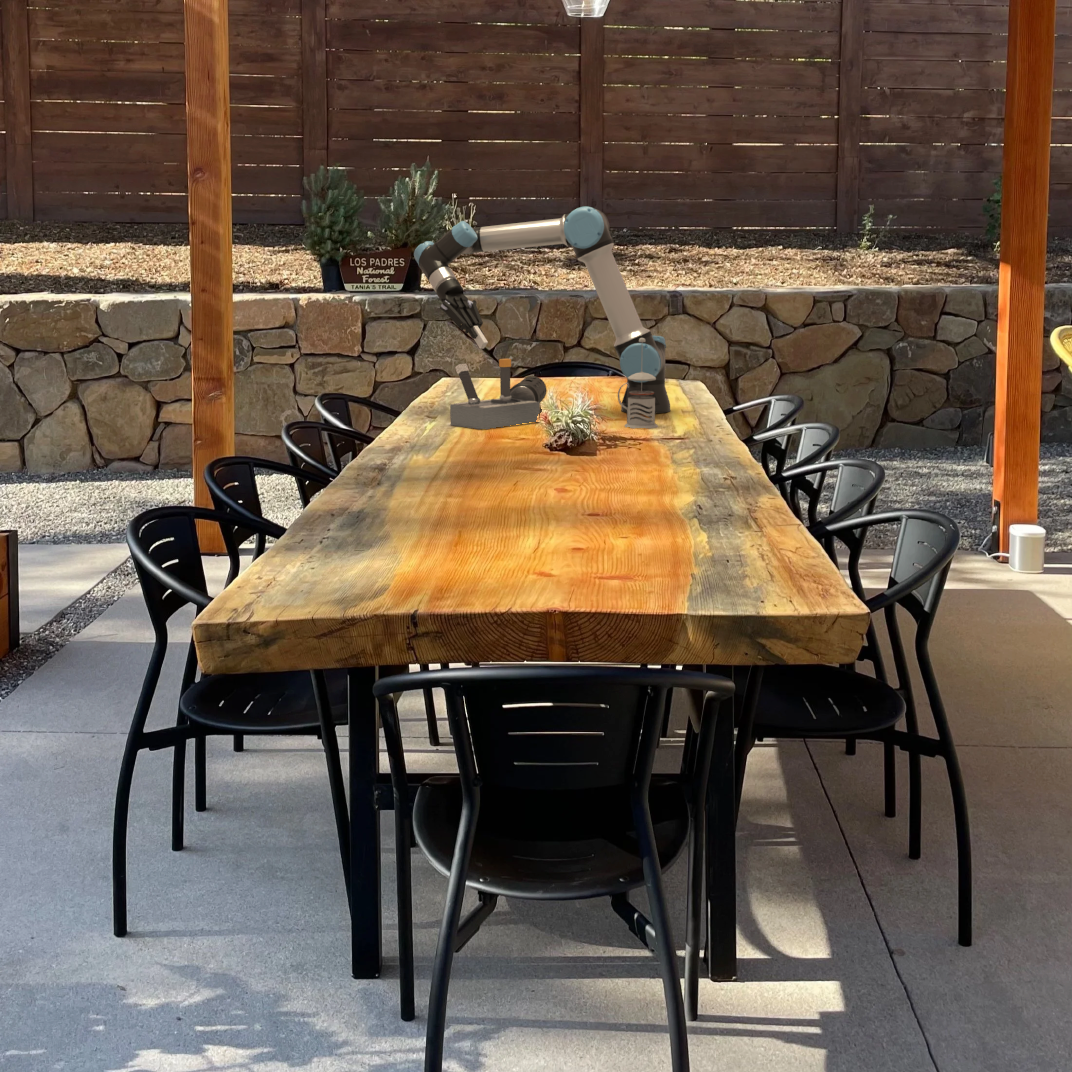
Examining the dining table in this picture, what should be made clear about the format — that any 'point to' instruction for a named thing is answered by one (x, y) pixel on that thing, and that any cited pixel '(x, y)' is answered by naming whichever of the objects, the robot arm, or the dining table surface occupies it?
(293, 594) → the dining table surface
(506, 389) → the lever
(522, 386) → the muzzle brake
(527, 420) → the twin lever control box
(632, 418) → the french press
